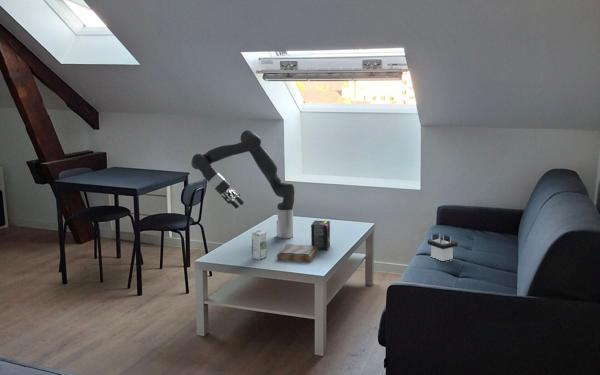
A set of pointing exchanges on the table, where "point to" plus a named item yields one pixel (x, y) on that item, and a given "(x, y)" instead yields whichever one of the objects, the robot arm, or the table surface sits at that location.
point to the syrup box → (259, 244)
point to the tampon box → (320, 234)
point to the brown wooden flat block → (297, 253)
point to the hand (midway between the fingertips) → (240, 205)
